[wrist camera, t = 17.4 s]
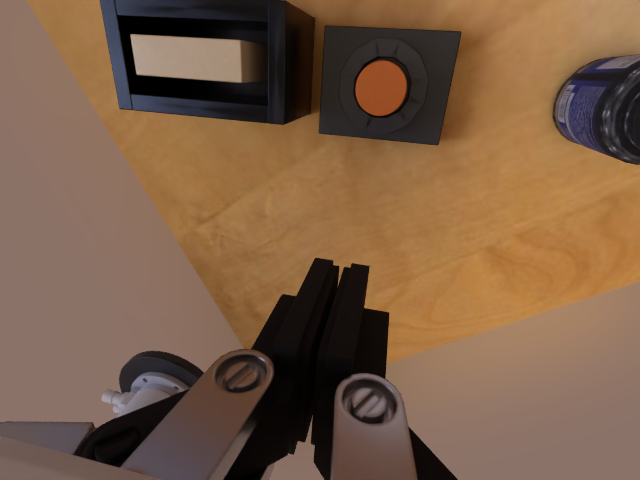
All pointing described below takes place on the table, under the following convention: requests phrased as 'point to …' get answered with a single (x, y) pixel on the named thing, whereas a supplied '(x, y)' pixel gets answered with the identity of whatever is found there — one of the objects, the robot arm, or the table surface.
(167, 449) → the robot arm
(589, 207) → the table surface
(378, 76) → the button
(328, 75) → the button box
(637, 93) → the pill bottle
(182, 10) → the toaster
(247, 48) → the white flat square block
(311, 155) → the table surface
